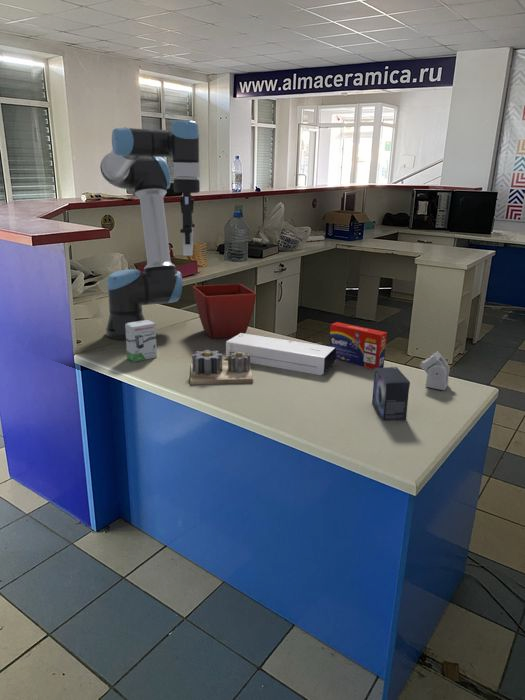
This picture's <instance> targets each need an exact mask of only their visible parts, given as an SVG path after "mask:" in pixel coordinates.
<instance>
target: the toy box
mask: <svg viewBox="0 0 525 700" xmlns="http://www.w3.org/2000/svg"><path fill="white" fill-rule="evenodd" d="M329 331H330V332H329V346H328V347H335V348H336V359H335V361H340V362H344V363H347V364H352V365H355V366H360V367H363V368H367V369H371V370H374V371H375V368H385V356H386V347H387V346H386V345H387V336H388V332H386V331H381V330H376V329H373V328H368V327H362V326H358V325H352V324H349V323H343V322H339V321H336V322H334V323H331V324H330V330H329Z"/></svg>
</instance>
